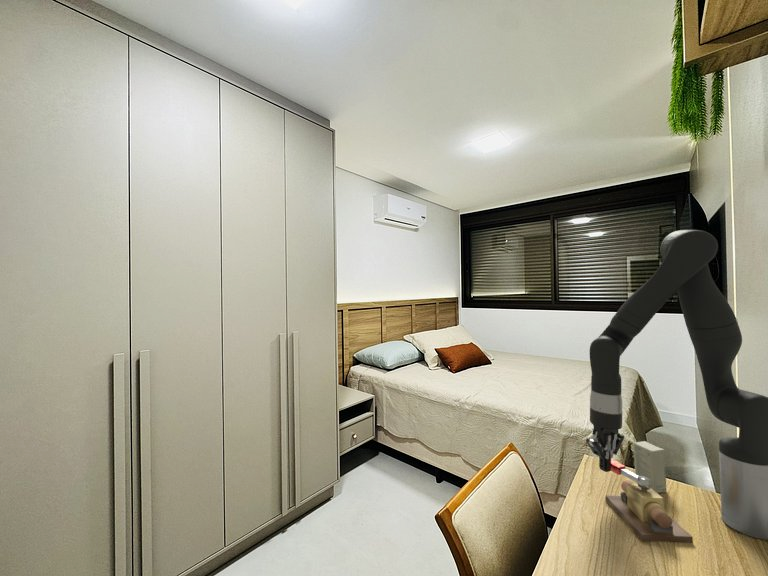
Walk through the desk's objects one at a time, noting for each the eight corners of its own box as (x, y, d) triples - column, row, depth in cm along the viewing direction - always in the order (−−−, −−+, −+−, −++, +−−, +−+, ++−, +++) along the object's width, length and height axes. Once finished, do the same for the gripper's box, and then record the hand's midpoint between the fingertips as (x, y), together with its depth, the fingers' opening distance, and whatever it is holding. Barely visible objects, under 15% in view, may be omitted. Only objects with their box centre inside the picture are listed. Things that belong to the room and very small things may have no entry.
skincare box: (667, 492, 96) (665, 449, 96) (654, 494, 95) (652, 451, 95) (646, 480, 102) (645, 440, 102) (634, 481, 102) (632, 441, 102)
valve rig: (605, 500, 93) (604, 471, 93) (647, 502, 92) (646, 472, 92) (642, 541, 78) (640, 505, 78) (692, 543, 77) (691, 507, 77)
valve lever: (653, 488, 84) (653, 480, 84) (645, 490, 83) (645, 482, 83) (612, 466, 95) (612, 459, 95) (605, 467, 94) (604, 460, 94)
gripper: (603, 415, 87) (602, 482, 86) (635, 409, 92) (634, 472, 92) (576, 406, 93) (576, 468, 93) (607, 400, 99) (607, 459, 99)
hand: (605, 470), depth 92 cm, fingers closed
